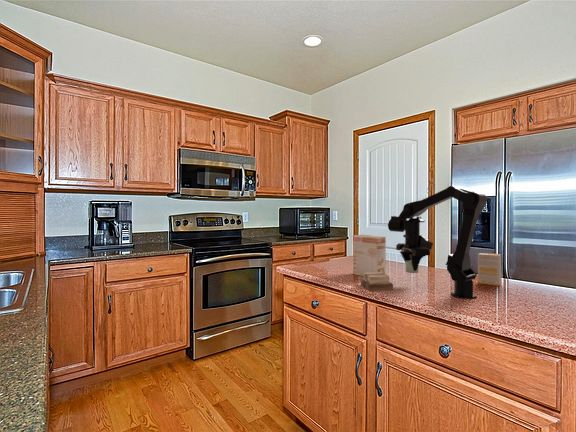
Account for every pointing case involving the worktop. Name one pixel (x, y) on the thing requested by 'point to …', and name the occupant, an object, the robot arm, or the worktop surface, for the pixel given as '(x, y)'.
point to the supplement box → (489, 269)
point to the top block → (376, 278)
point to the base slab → (376, 286)
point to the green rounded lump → (410, 267)
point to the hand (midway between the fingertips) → (412, 269)
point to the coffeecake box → (369, 254)
